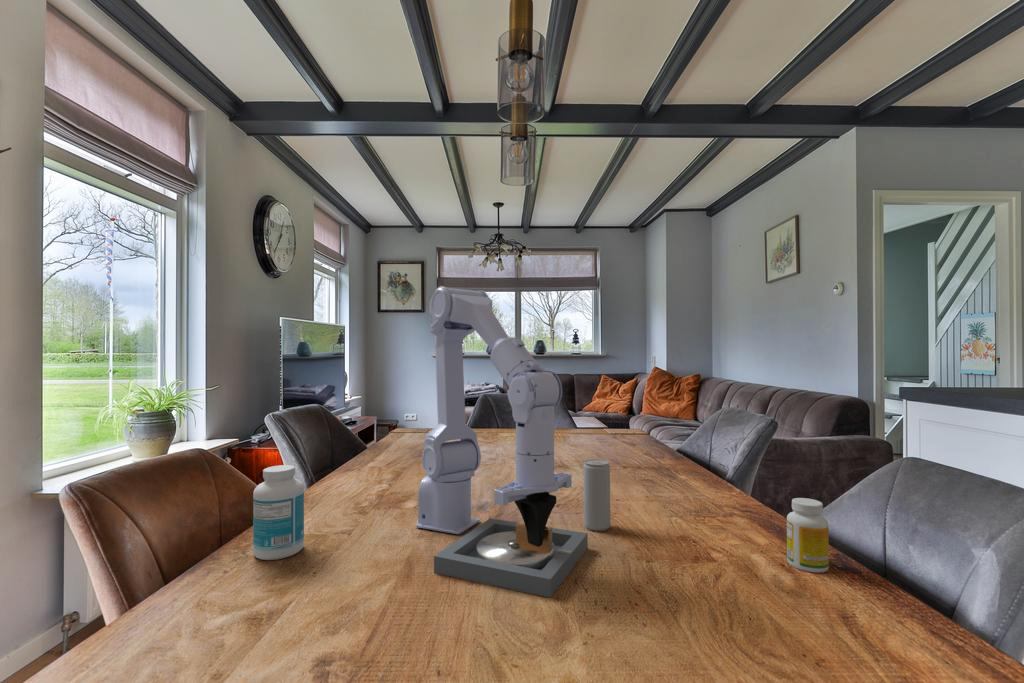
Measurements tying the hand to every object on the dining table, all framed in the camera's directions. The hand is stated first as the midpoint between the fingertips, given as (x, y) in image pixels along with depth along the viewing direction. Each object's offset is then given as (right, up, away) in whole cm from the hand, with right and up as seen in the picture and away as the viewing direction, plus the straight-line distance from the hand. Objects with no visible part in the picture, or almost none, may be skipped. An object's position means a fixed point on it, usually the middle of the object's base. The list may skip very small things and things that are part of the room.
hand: (535, 544), depth 72 cm
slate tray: (-3, -4, +3) cm, 6 cm away
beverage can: (+12, -4, +17) cm, 22 cm away
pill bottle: (-41, -4, +6) cm, 42 cm away
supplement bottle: (+41, -4, +1) cm, 41 cm away
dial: (-3, -4, +3) cm, 6 cm away
